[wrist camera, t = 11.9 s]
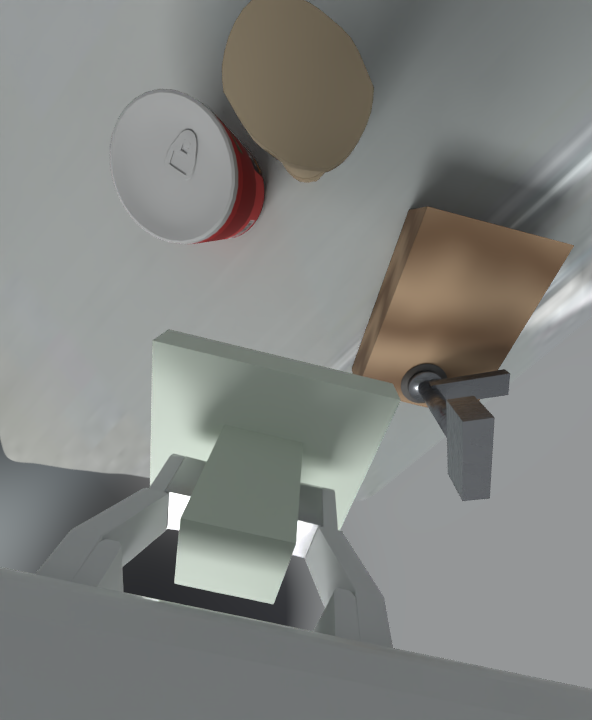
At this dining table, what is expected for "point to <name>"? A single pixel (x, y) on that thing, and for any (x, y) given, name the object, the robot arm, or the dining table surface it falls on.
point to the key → (464, 423)
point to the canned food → (183, 170)
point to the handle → (297, 85)
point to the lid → (257, 452)
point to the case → (454, 298)
